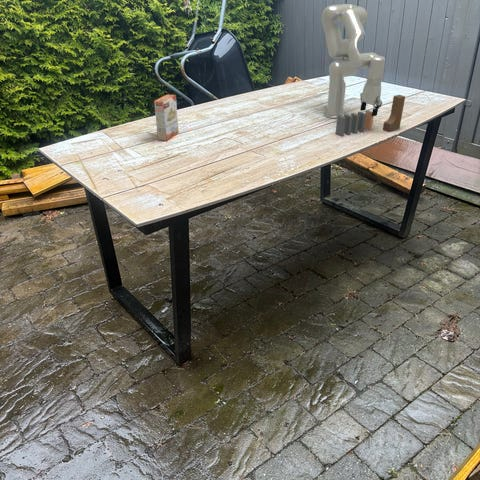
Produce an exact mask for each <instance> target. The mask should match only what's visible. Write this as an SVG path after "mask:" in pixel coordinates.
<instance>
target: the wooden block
mask: <svg viewBox="0 0 480 480" xmlns="http://www.w3.org/2000/svg"><path fill="white" fill-rule="evenodd" d="M405 100H406V96H405V95H402V94H396V95H393V98H392V103H391V110H390V114H389V115H390V116H389V118H388V119H387V120H385V121H384V122H383V126H382V131H386V132H387V133H388V132H393V131H397V130H400V129H401V123H402V118H403V112H404V106H405Z"/></svg>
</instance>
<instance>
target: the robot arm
mask: <svg viewBox="0 0 480 480" xmlns="http://www.w3.org/2000/svg"><path fill="white" fill-rule="evenodd" d="M337 22H342V24H343V25H342V26H343V27H344V29H345V32H346V35H347V37H348V38H346V39H345V38H344V39H343V37H342V31H341V29H340V27H339V26H338V24H337ZM366 22H368V12H367V10H366V9H365V8H364V7H362V6H358V5H355V4H351V3H344V4H343V3H342V4H332V5H328V6H326V7H325V8H324V10H322V14H321V25H322V28H323V30H324V34H325V39H326V46H327V52H328V56H329V57H330V58H332V59H337V60H333V61H332V62H331V63H330V64H329V66H328V75H329V85H328V95H327V97H328V98H327V105H326V106H324V109H325V111H324V113H323V115H324V117H325V118H329V119H337V115H341V116H343V117H344V114H346V113H345V112H344V106H345V97H346V89H347V85H346V81H345V79H344V78H346V77H352V76H353V77H354V76H355V75H356V74H357V73H358V71H359V70H362V69H368V71H367V77H366V81H365V83H364V85H363V88H362V92H360V93H359V96H360V98H359V99H360V112H362V111H366V110H367V109H366V108H367V104H368V105H370V106H371V105H372V107H373V108H372V110H371V111H372V116H373V117H376V116H378V112H379V109H380V108H381V107H382V105H383V101H382V100H381V96H382V95H381V94H382V81H383V75H384V71H385V64H386V58H385V57H384V56H383V55H378V54H377V53H376V52H364V53H360V51H359V49H358V47H357V46H358V45H357V44H358V42H360V41H361V40H362V39H363V38H364V37H365V36H366V31H365V28H364V26H363V25H364V24H365V23H366ZM340 58H344V59H340Z"/></svg>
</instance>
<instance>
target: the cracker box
mask: <svg viewBox="0 0 480 480" xmlns="http://www.w3.org/2000/svg"><path fill="white" fill-rule="evenodd" d="M153 105H154V115H155V125H156V133H157V140H158V141H162V142H164V141H165V142H168V141H169V140H171V139H172V138H173V137H175V136H177V135H178V134H179V120H178V119H179V118H178V107H177V95H176V94H165V95H163V96H161V97H159V98H158V99H156V100H154V101H153Z"/></svg>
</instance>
